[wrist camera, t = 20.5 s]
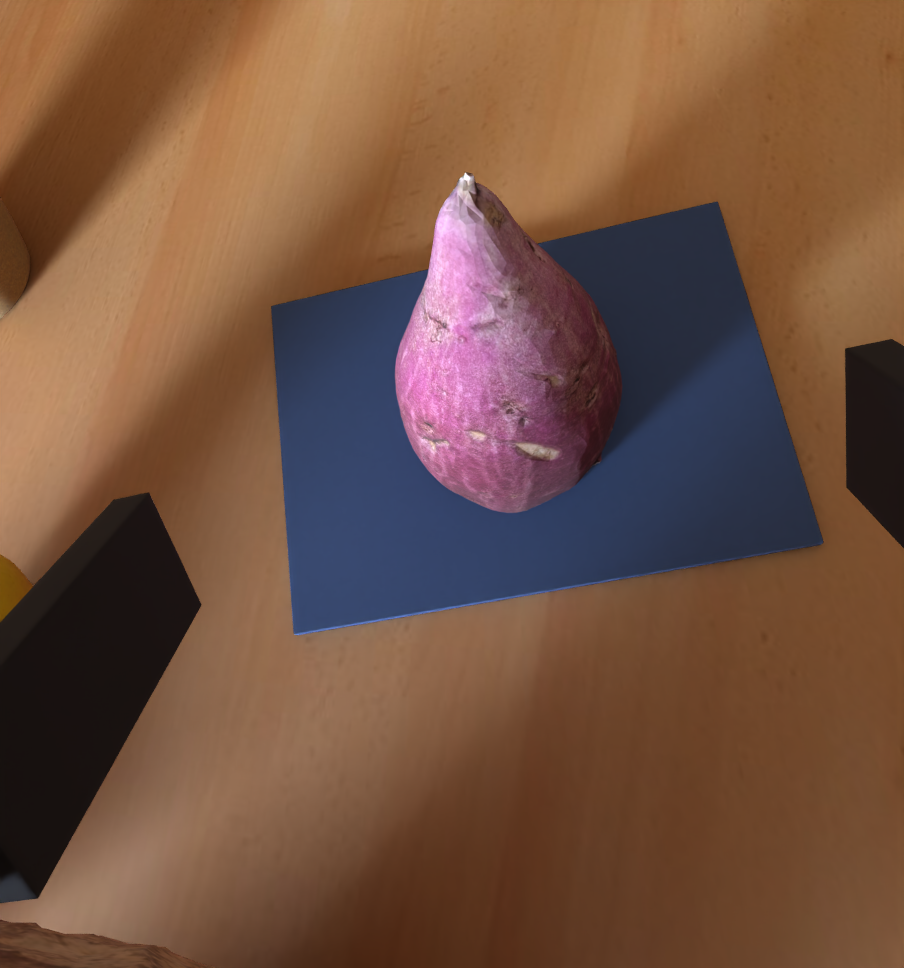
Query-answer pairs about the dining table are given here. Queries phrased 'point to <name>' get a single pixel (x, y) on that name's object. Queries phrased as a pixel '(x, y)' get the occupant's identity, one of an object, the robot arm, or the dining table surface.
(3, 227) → the plant pot
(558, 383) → the vegetable
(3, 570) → the apple
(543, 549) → the blue rectangular board
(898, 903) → the dining table surface
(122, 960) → the rough clay pot
